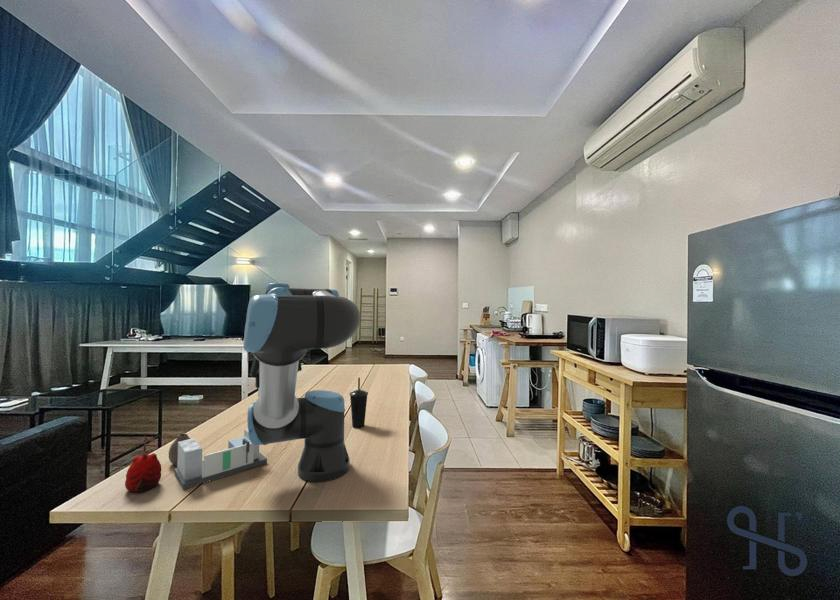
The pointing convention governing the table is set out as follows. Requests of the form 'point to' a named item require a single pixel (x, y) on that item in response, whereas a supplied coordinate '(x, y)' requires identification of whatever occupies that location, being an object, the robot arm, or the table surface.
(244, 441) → the gauge plunger
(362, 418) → the drinking cup
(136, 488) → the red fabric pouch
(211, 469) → the base
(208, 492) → the table surface
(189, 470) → the white vise jaw block
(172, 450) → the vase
